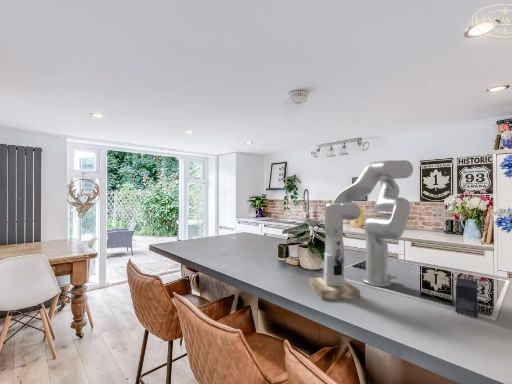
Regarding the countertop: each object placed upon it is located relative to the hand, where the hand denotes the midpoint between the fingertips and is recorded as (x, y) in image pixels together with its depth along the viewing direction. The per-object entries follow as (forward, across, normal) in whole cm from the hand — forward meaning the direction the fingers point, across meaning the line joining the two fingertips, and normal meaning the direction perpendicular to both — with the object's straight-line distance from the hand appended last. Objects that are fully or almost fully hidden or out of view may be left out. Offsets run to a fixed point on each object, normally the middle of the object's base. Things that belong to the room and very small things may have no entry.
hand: (333, 271), depth 115 cm
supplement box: (+5, 0, 0) cm, 5 cm away
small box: (+9, -22, -42) cm, 48 cm away
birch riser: (+9, 0, 0) cm, 9 cm away
